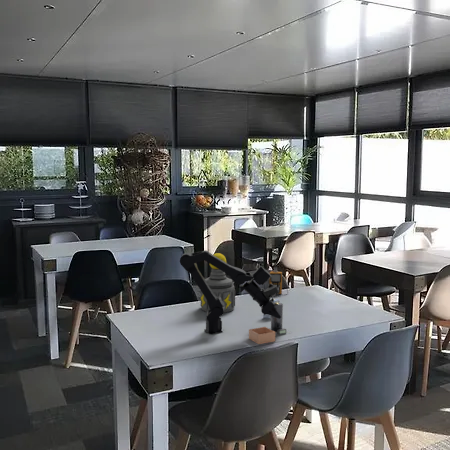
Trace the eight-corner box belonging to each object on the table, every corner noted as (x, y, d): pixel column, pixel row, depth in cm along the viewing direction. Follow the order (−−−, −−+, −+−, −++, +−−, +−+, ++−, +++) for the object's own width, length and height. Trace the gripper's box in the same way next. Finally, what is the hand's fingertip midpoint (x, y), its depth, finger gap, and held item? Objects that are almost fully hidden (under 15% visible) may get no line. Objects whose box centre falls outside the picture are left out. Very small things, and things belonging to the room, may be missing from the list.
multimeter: (262, 296, 290) (262, 262, 288) (263, 292, 300) (263, 260, 298) (287, 297, 287) (287, 263, 285) (288, 293, 297) (288, 260, 295)
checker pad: (273, 337, 216) (273, 331, 216) (261, 330, 225) (261, 325, 225) (292, 333, 221) (292, 328, 221) (279, 327, 230) (279, 322, 230)
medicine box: (271, 314, 252) (272, 297, 251) (279, 316, 249) (279, 299, 248) (263, 317, 246) (263, 300, 245) (270, 319, 243) (270, 302, 242)
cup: (258, 345, 206) (258, 334, 206) (248, 339, 213) (248, 329, 213) (275, 342, 210) (275, 331, 209) (265, 336, 217) (265, 326, 217)
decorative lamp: (242, 310, 261) (242, 253, 258) (212, 315, 250) (212, 257, 247) (222, 302, 276) (222, 249, 273) (193, 307, 265) (193, 252, 262)
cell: (274, 332, 220) (275, 304, 218) (268, 329, 224) (268, 302, 223) (284, 330, 222) (285, 303, 221) (278, 327, 227) (278, 301, 225)
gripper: (269, 284, 212) (295, 309, 212) (267, 275, 230) (290, 298, 231) (251, 301, 213) (276, 327, 213) (250, 291, 231) (273, 315, 232)
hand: (279, 316), depth 222 cm, fingers closed on cell, 5 cm apart
